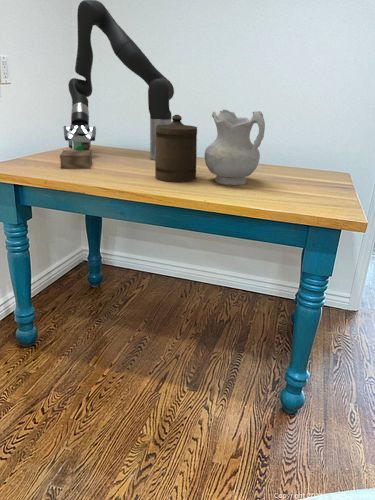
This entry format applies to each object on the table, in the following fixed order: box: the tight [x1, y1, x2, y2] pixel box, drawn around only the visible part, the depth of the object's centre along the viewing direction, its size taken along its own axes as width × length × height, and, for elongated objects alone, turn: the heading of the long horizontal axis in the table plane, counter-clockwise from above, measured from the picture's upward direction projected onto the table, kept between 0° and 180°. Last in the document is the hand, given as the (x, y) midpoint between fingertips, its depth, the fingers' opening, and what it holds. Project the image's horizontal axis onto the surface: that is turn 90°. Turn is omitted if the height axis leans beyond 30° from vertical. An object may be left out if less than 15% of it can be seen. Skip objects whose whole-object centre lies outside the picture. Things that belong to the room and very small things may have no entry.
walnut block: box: [59, 149, 93, 170], centre depth 165 cm, size 11×12×5 cm
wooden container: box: [154, 114, 198, 183], centre depth 148 cm, size 15×15×22 cm
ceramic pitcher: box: [204, 109, 266, 186], centre depth 144 cm, size 22×20×25 cm
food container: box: [71, 134, 90, 150], centre depth 177 cm, size 12×6×10 cm, turn 25°
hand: (79, 147), depth 178 cm, fingers closed on food container, 6 cm apart
